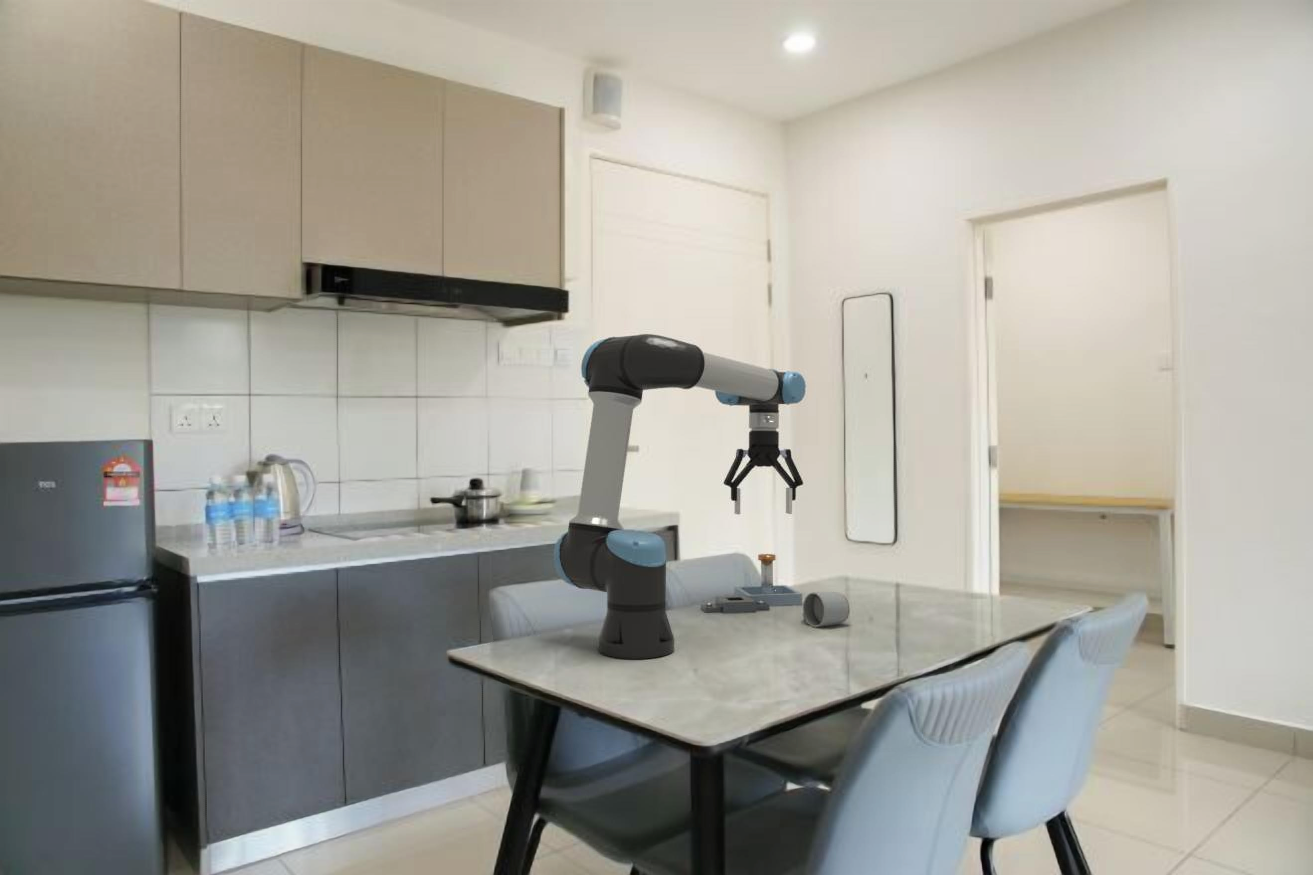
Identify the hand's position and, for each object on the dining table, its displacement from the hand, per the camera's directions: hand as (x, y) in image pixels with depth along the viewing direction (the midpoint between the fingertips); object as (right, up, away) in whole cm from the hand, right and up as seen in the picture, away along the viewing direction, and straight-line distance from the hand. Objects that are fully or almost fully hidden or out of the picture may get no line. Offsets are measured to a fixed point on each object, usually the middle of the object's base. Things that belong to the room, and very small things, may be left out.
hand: (763, 513), depth 230 cm
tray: (+1, -23, +3) cm, 23 cm away
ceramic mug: (+10, -23, -25) cm, 35 cm away
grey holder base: (-8, -23, -8) cm, 25 cm away
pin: (+1, -22, +3) cm, 22 cm away
